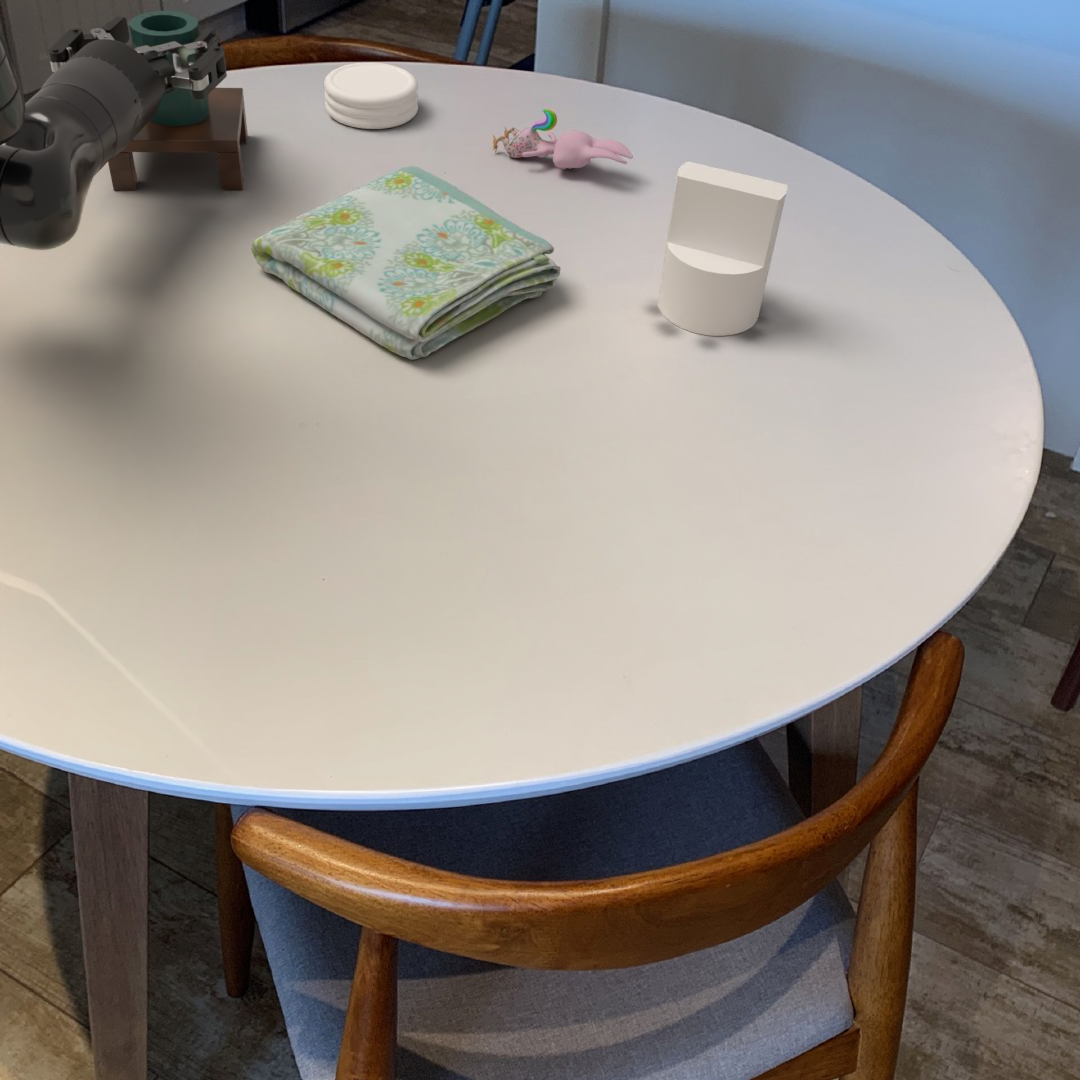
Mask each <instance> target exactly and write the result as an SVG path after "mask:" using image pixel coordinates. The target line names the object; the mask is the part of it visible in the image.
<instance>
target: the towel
mask: <svg viewBox="0 0 1080 1080" xmlns="http://www.w3.org/2000/svg"><path fill="white" fill-rule="evenodd" d="M250 251H251V254H252V255H253V257H254V259H255V261H256V263H257V264H258V266H259V267H260V268H261V270H262V271H264V272H265V273H267V274H272V275H274V276H276V277H277V278H278V279H281V280H282V281H283V282H284V283H285V284H286V285H287V286H288V287H289V288H291V289H293V290H294V291H296V292H298V293H299V294H301V295H302V296H303V297H305V298H307V299H308V300H311V301H312V302H313V303H315V304H316V305H317V306H319V307H321V308H322V309H324V310H325V311H326V312H328V313H330V314H331V315H333V316H335V317H336V318H338V319H339V320H341V321H343V322H344V323H346V324H348V325H349V326H350V327H352V328H354V329H355V330H356V331H358V332H359V333H361V334H362V335H364V336H366V337H368V338H369V339H371V340H372V341H373V342H375V343H376V344H377V345H380V346H381V347H382V348H383V347H384V348H385V349H387V350H388V351H390V352H392V353H393V354H396V355H398V356H400V357H402V358H406V359H409V360H410V361H414V360H418V359H421V358H427V357H428V356H430V354H431V353H434V352H436V351H437V350H439V349H441V348H442V347H444V346H446V345H447V344H449V343H450V342H452V341H454V340H456V339H458V338H460V337H461V336H463V335H465V334H466V333H469V332H471V331H472V330H475V329H476V328H478V327H480V326H482V325H484V324H485V323H488V322H489V321H491V320H492V319H494V318H496V317H497V316H499V315H501V314H502V313H504V312H505V311H506V310H508V309H510V308H511V307H514V306H516V305H518V304H519V303H520V302H522V301H524V300H526V299H534V298H539V297H541V296H542V294H543V292H547V291H549V290H550V289H553V288H554V287H555V284H556V282H557V280H558V277H560V275H561V266H560V265H558V264H556V263H555V261H554V260H553V259H551V258H549V256H547V255H551V254H553V253H554V251H555V247H554V246H553V245H552V244H551V243H550V242H549V241H547V240H546V239H544V238H543V237H540V236H538V235H537V234H533V233H532V232H530V231H528V230H526V229H524V228H522V227H521V226H519V225H517V224H516V223H514V222H513V221H510V219H507V218H505V217H504V216H502V215H500V214H499V213H497V212H496V211H494V210H493V209H491V208H490V207H489V206H486V205H485V204H484V203H482V202H481V201H479V200H477V198H474V197H472V196H471V195H470V194H468V193H466V192H464V191H463V190H462V189H459V188H458V187H457V186H455V185H453V184H451V183H449V182H448V181H446V180H444V179H442V178H440V177H439V176H436V175H434V174H433V173H431V172H429V171H427V170H424V169H422V168H420V167H419V166H414V165H412V166H411V165H410V166H404V167H401V168H399V169H398V170H394V171H391V172H390V173H388V174H385V175H382V176H381V177H378V178H376V179H374V180H372V181H370V182H368V183H365V184H363V185H362V186H359V187H357V188H355V189H354V190H353V189H352V190H350V191H349V192H347V193H344V194H342V195H341V196H339V197H336V198H333V199H331V200H329V201H327V202H325V203H322V204H321V205H318V206H316V207H314V208H312V209H311V210H309V211H307V212H306V211H305V212H304V213H302V214H300V215H298V216H296V217H294V218H292V219H290V220H288V221H286V222H285V223H282V224H280V225H278V226H276V227H275V228H273V229H271V230H268V231H267V232H265V233H264V234H262V235H260V236H259V237H257V238H255V239H254V240H253V241H252V245H251V247H250Z"/></svg>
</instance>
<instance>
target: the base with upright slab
mask: <svg viewBox="0 0 1080 1080" xmlns="http://www.w3.org/2000/svg"><path fill="white" fill-rule="evenodd" d="M675 180H676V181H675V185H674V192H673V200H672V205H671V214H670V217H669V218H670V219H669V224H668V230H667V238H666V245H665V250H664V255H663V256H664V257H663V263H662V270H661V277H660V282H659V289H658V295H657V307H658V310H659V311H660V313H661V314H662V316H663V317H664V318H665V319H666V320H667V321H669V322H670V323H671V324H673V325H675V326H676V327H678V328H679V329H682V330H684V331H688V332H690V333H694V334H698V335H705V336H713V337H715V336H716V337H724V336H733V335H737V334H739V333H744V332H746V331H748V330H749V329H751V328H753V327H754V326H755V324H756V323H757V322H758V321H759V316H760V312H761V307H762V303H763V299H764V293H765V290H766V286H767V280H768V276H769V272H770V268H771V264H772V263H771V262H772V258H773V254H774V250H775V244H776V241H777V236H778V232H779V228H780V223H781V218H782V214H783V210H784V205H785V201H786V197H787V193H788V188H789V187H788V184H786V183H782V182H778V181H774V180H770V179H766V178H762V177H761V178H760V177H757V176H752V175H748V174H744V173H739V172H736V171H731V170H726V169H723V168H719V167H714V166H710V165H705V164H701V163H698V162H693V161H689V160H687V161H685V162H683V164H682V165H681V166H680V167H679V168H678V171H677V173H676V179H675ZM757 318H758V319H757ZM756 320H757V321H756ZM755 321H756V322H755ZM754 322H755V323H754ZM751 325H752V326H751ZM750 326H751V327H750Z"/></svg>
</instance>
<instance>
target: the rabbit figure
mask: <svg viewBox="0 0 1080 1080" xmlns="http://www.w3.org/2000/svg"><path fill="white" fill-rule="evenodd" d="M541 111H542V112H543V113H544V115H545V117H546V118H542V119H539V120H537V121H534V123H533V124H532V125H531V126H530V127H524V129H522V130H519V129H517V128H516V127H515V126H514V127H511V128H510V129H507V127H506V126H503V127H504V135H500V137H498V138H496V136H495V134H492V136H493V137H492V138H493V140H492V148H493V149H492V152H494V153H497V151H498V148H499V146H498V144H499V142H502V144H503V146H504V149H505V152H506V154H507V155H508V156H510V157H511V158H513V159H520V158H531V157H538V158H545V157H548V156H551V155H552V162H553V164H554V166H555V167H556V168H558V169H562V168H563V169H562V170H563V171H564V170H567V169H566V168H573V169H574V168H575V169H581V168H583V167H585V166H587V165H588V164H589V163H590V162H591V161H592V160H593V159H608V160H612V161H614V162H618V163H620V164H623V165H627V164H628V162H627V160H625V159H624V158H628V159H630V160H632V159H633V158H634V156H633V154H632V152H631V151H630V149H628V147H627V146H626V145H625V144H623V143H622V142H620V141H619V140H615V139H611V138H594V137H593V136H591V135H590V134H588V133H586V132H584V131H581V130H567V131H565V132H563V133H561V134H560V135H559V136H558V138H557V136H556V135H555V134H554V132H553V131H551V130H553V129H554V128H555V127H556V126H557V123H558V117H557V114H556V113H555V112H554V110H551V109H546V108H545V109H542V110H541ZM538 131H542V132H547V131H548V134H547V135H548V137H549V138H550V140H546V139H543V138H542V137H541V135H540V133H539V132H538ZM510 134H512V135H513V137H510V136H509V135H510ZM622 157H624V158H622Z"/></svg>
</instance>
